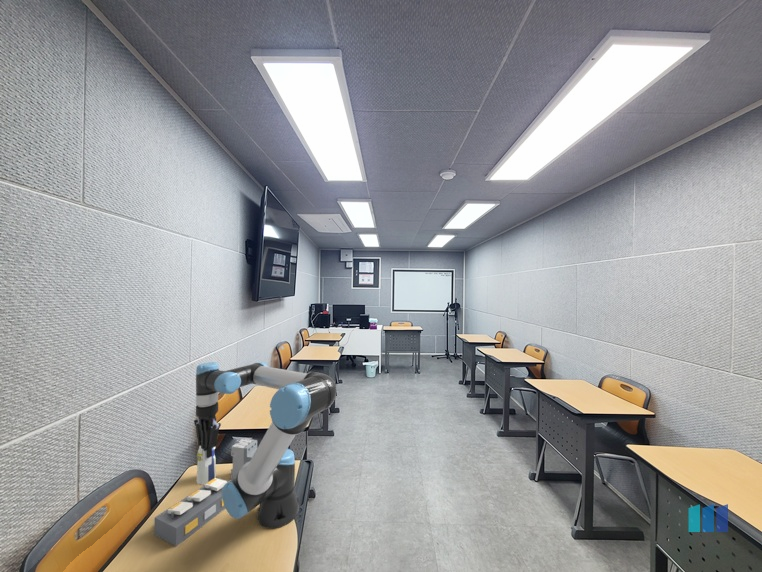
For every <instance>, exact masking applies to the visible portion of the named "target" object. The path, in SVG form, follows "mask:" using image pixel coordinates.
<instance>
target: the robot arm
mask: <svg viewBox="0 0 762 572" xmlns="http://www.w3.org/2000/svg"><path fill="white" fill-rule="evenodd" d="M252 384H253V385H257V386H262V387H266V388H271V389H275V390H276V392H275V393H274V394H273V396H272V398H271V400H270V403H269V408H270V410H269V415H270V418H271V424H270V425H269V427H268V429H267V430H266V432H265V434H264V435H263V437H262V439H261V441H260V443H259V445H257V450H256V452H255V453H254V455H253V457H252V459H251V460H250V461H249V462H247V463H246V464H244V465H243V466H242V468H241V469H240V471H239V472H238V474H237V476H236V477H235V478H234V479H233V480H231V479H230V480H227V481H228V483H226V484H225V485H224V486H223V489H222V499H223V503H224V506H225V510H226V511H227V513H228V514H229V516H230V517H231V518H233V519H236V520H239V519H242V517H244V516H246V515H248V514H249V513H250V512H251V511H252V510H254V509H255V508H256V507H258V509H257V516H256V517H257V523H258V524H259V525H260V526H261V527H262V528H266V529H276V528H278V529H279V528H281V527H283V526H286V525H288V524H289V523H291V522H292V521H293V520H295V518H296V517H297V516H298V514H299V511H300V501H299V500H300V499H299V498H298V495H297V492H296V489H295V482H296V481H295V478H296V477H295V476H296V475H295V473H296V460H295V453H294V452H293V450H291V449H290V448H289V446H291V444H292V442H293V440H294V438H295V437H296V435H297V436H298V435H300V434H301V433H303V432H305V430H306V429H307V426H308V425H309V423H310V422H311V421H312V419H313V418H314V417H315V416H316V415H318V414H320V413H322V412H324V411H326V410H327V409H329V408H330V407H331V406H332V405H333V404H334V402H335V399H336V398H337V392H338V391H337V389H338V388H337V385H336V383H335V381H334V379H333V378H332V377H331V376H329V375H328V374H326V373H322V372H318V371H317V372H316V371H309V372H306V373H305V372H302V371H301V372H300V371H295V370H289V369H282V368H276V367H271V366H268V364H266V362H262V361H260V362H254V363H251V364H248V365H244V366H240V367H236V368H231V369H227V370H221V369H220V368H219V364H218V363H217V362H214V361H213V362H212V361H211V362H204V363H200V364H198V365H197V366H196V370H195V393H196V394H195V405H196V406H195V416H196V417H197V418H196V419H194V420H193V423H194V427H195V433H196V441H197V440H198V444H197V445H198V447H200V446H201V448H202V467H207V466H208V465H210V464H212V448H214V447H217V444H218V443H217V442H218V439H217V438H219V431H220V427H221V425H222V424H221V423H220V422H219V423H218V422H217V416H216V414H217V413H218V412H219V402H218V401H219V394H223V395H230V394H234V393H235V392H236V391H238V389H239V388H243V387H245V386H248V385H252Z"/></svg>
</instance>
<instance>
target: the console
mask: <svg viewBox="0 0 762 572" xmlns="http://www.w3.org/2000/svg"><path fill="white" fill-rule="evenodd" d="M216 478H217V479H221V480H224V481H227V483H228V481H229V480H225V479H222V478H221V477H216ZM222 489H223V487H222V488H221V489H219V490H218V491H215V490H212V489H211V488H205V484H203V486H202V487H200V488H198V489H197V490H208V491H211V494H210V495H209V496H207V497H206V498H204V499H203V500H201V501H200V502H199V501H194V500H193V499H191V501H189V500H188V499H187V497H188V496H189V495H191V494H193V493H194V492H196V491H197V490H195V491H194V492H192V493H190V494H189V495H188V496H185V497H184V498H183V499H181V500H179V501H178V502H177V503H179V502H189V503H193V507H191V508H190V509H188V510H187V511H185V512H184V513H182V514H181V515H177V514H174V513H173V512H171V514H169V513H168V509H170V508H171V507H172V506H174V505H175V504H177V503H175V504H174V505H172V506H170V507H169V508H167V509H166V510H164V511H162V512H161V513H160V514H159V513H158V515H156V516H155V517H154V524H153V525H154V527H153V529H154V530H153V533H154V534H153V535H154V536H155V537H157V538H159V539H161V540H163V541H165V542H166V543H169V544H170V545H172V546H175V547H178V546H179V545H181V543H183V542H184V541H185V540H186V539H188V538H189V537H190V536H192V535H193V534H194V533H196V532H197V531H198V530H200V529H201V528H203V526H205V525H206V524H207V523H209V522H210V521H212V520H213V519H214V518H215V517H217V516H218V515H219V514H220V513H222V512H224V510H226V508H225V506H224V503H223V499H222Z"/></svg>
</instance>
